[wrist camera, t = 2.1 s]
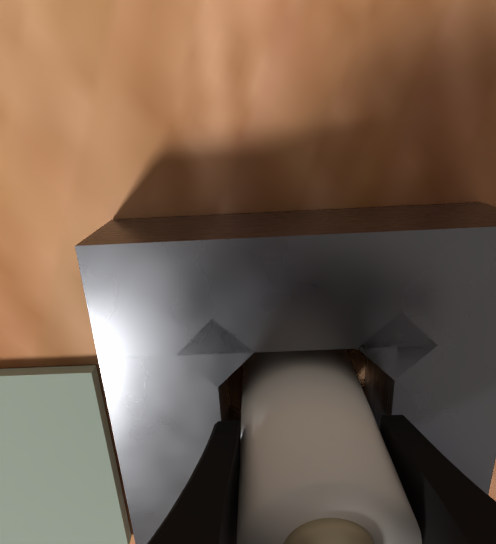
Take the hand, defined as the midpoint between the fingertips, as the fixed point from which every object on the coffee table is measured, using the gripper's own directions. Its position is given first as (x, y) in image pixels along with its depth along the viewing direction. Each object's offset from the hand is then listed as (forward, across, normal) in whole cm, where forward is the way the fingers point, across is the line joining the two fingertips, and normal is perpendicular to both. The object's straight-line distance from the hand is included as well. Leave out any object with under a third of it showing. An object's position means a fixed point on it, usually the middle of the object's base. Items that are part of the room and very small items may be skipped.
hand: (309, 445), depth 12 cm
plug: (+4, 0, 0) cm, 4 cm away
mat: (+4, +11, +4) cm, 12 cm away
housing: (+4, 0, 0) cm, 4 cm away
